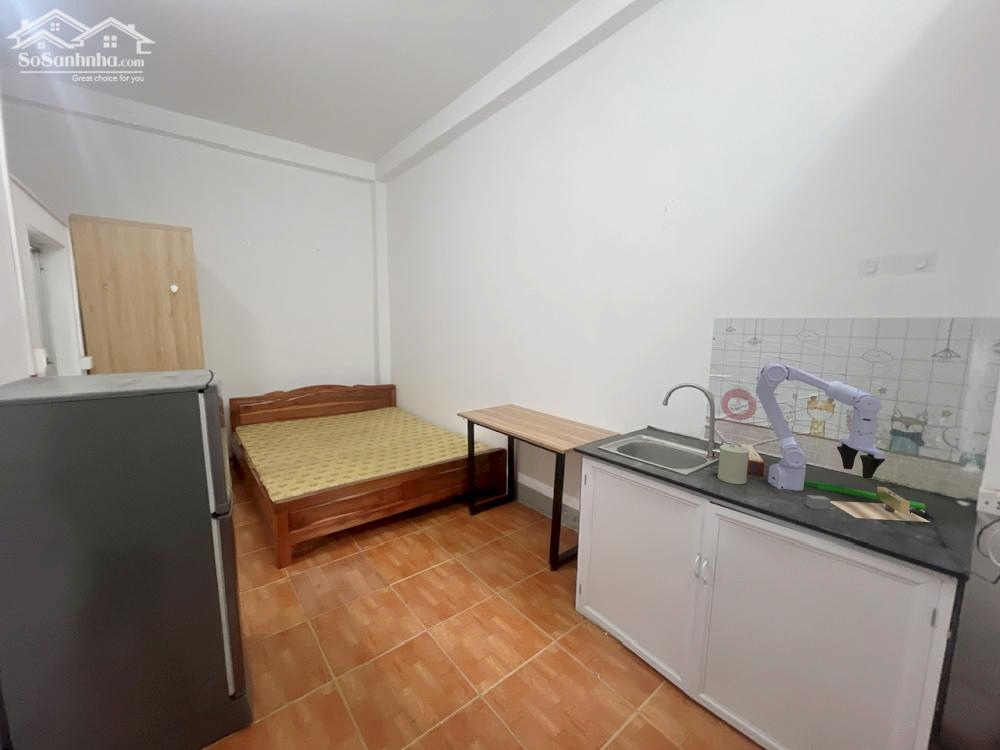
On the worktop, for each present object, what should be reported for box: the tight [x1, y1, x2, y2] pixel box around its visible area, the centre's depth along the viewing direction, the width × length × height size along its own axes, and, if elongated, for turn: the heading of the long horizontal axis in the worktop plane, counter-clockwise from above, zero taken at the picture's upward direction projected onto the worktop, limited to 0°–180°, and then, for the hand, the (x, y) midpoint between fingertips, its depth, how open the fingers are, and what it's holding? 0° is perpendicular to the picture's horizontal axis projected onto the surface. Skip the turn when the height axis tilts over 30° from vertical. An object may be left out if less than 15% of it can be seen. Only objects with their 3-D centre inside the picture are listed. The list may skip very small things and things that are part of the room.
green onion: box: [804, 479, 926, 510], centre depth 125 cm, size 5×3×30 cm
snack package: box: [738, 443, 766, 477], centre depth 155 cm, size 21×7×7 cm, turn 157°
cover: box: [805, 494, 831, 511], centre depth 117 cm, size 9×8×5 cm
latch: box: [876, 486, 910, 514], centre depth 114 cm, size 11×2×4 cm, turn 162°
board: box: [830, 500, 931, 523], centre depth 115 cm, size 19×11×3 cm, turn 84°
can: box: [717, 444, 749, 485], centre depth 141 cm, size 9×9×12 cm
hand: (857, 473), depth 123 cm, fingers open, 7 cm apart
